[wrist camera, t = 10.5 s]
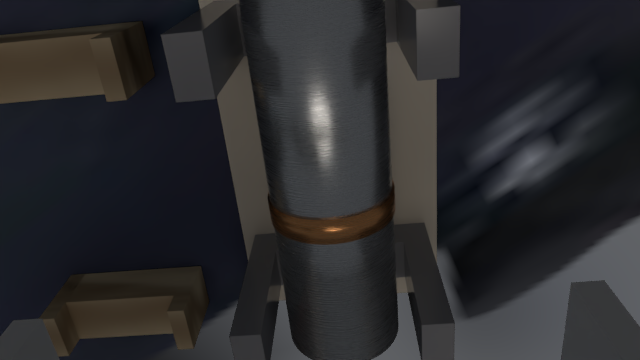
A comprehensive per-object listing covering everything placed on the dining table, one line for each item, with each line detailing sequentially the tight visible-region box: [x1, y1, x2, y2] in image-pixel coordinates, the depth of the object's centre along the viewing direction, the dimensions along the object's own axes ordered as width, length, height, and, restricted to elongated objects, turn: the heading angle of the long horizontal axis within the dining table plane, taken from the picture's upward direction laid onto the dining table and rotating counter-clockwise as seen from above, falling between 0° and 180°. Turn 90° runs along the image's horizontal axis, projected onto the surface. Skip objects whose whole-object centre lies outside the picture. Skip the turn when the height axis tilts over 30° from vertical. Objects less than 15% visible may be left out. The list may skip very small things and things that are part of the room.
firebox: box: [161, 0, 460, 360], centre depth 26 cm, size 22×12×10 cm, turn 6°
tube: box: [238, 0, 398, 360], centre depth 25 cm, size 22×6×6 cm, turn 6°
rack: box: [0, 21, 209, 357], centre depth 31 cm, size 19×9×4 cm, turn 6°
